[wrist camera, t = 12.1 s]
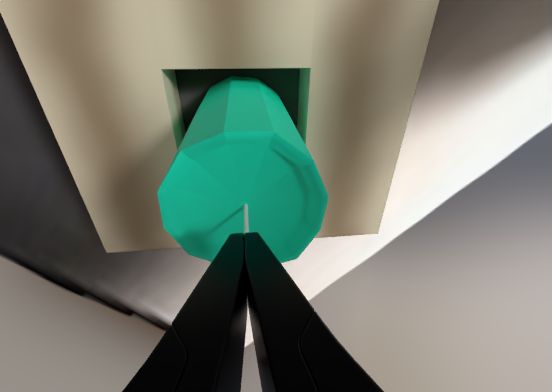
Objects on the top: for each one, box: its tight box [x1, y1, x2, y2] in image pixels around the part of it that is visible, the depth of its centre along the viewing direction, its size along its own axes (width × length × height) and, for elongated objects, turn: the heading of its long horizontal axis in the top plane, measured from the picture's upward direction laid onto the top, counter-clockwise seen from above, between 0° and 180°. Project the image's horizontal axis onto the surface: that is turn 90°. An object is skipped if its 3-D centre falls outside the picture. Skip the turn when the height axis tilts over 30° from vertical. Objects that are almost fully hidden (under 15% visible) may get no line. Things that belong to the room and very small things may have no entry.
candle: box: [157, 76, 329, 263], centre depth 13 cm, size 6×6×12 cm
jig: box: [0, 0, 440, 253], centre depth 17 cm, size 20×16×3 cm
